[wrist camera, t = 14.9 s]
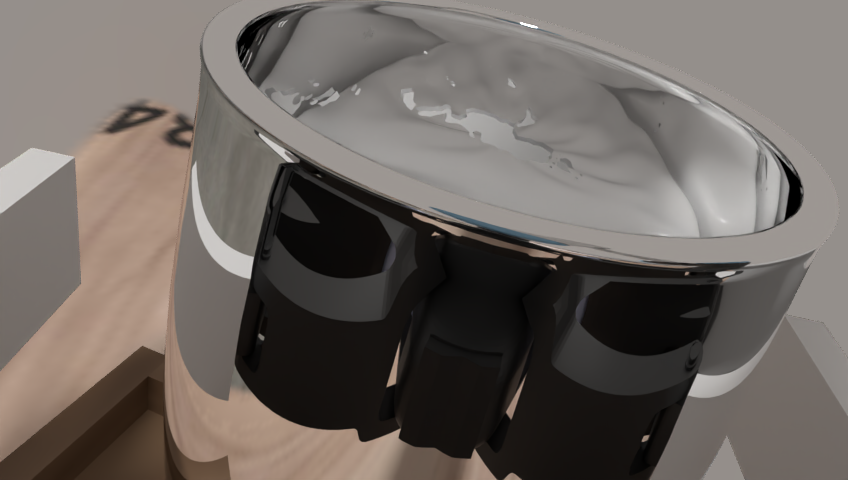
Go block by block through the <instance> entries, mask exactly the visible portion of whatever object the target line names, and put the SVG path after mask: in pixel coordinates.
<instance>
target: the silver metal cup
mask: <svg viewBox="0 0 848 480" xmlns="http://www.w3.org/2000/svg"><path fill="white" fill-rule="evenodd" d="M200 59H201V73H200V82H199V93H198V100H197V106H196V113H195V121H194V128H193V135H192V141H191V147H190V153H189V159H188V165H187V172H186V178H185V184H184V190H183V196H182V202H181V210H180V217H179V224H178V232H177V239H176V247H175V254H174V262H173V269H172V277H171V284H170V295H169V307H168V320H167V332H166V345H165V357H164V370H163V435H164V471H165V480H703V479H704V477H705V475H706V473H707V472H708V470H709V468H710V467H711V464H712V463H713V461H714V459H715V458H716V456H717V454H718V451H719V450H720V448H721V446H722V444H723V442H724V440H725V438H726V436H727V434H728V432H729V430H730V428H731V426H732V424H733V422H734V420H735V418H736V416H737V414H738V412H739V410H740V408H741V406H742V404H743V402H744V400H745V398H746V396H747V394H748V392H749V390H750V388H751V386H752V384H753V382H754V380H755V378H756V376H757V374H758V372H759V370H760V367H761V365H762V363H763V361H764V359H765V357H766V355H767V353H768V350H769V348H770V346H771V344H772V342H773V340H774V338H775V336H776V334H777V331H778V329H779V327H780V325H781V323H782V321H783V319H784V317H785V314H786V312H787V310H788V308H789V306H790V304H791V302H792V300H793V298H794V296H795V294H796V292H797V290H798V288H799V286H800V284H801V282H802V280H803V278H804V276H805V274H806V272H807V270H808V268H809V266H810V264H811V263H812V261H813V259H814V257H815V256H816V254H817V252H818V250H819V249H820V247H821V246H822V244H823V243H824V242H825V241H826V240H827V239H828V238H829V236H830V235H831V233H832V232H833V230H834V228H835V227H836V224H837V221H838V216H839V201H838V196H837V193H836V189H835V187H834V185H833V183H832V181H831V179H830V177H829V176H828V174H827V173H826V172H825V170H824V169H823V167H822V166H821V165H820V164H819V162H818V161H817V160H816V159H815V158H814V157H813V156H812V155H811V154H810V153H809V152H808V151H807V150H806V149H805V148H804V147H803V146H802V145H801V144H800V143H799V142H798V141H796V140H795V139H794V138H793V137H792V136H790V135H789V134H788V133H787V132H785V131H784V130H783V129H782V128H780V127H779V126H778V125H776V124H775V123H773V122H772V121H770V120H769V119H768V118H766V117H764V116H763V115H762V114H760V113H758V112H757V111H755V110H754V109H752V108H750V107H749V106H747V105H745V104H744V103H742V102H740V101H739V100H737V99H735V98H733V97H732V96H730V95H728V94H726V93H724V92H722V91H721V90H719V89H717V88H715V87H713V86H711V85H709V84H707V83H705V82H703V81H701V80H699V79H697V78H695V77H693V76H691V75H688V74H686V73H684V72H682V71H680V70H678V69H675V68H673V67H671V66H668V65H666V64H664V63H662V62H659V61H657V60H654V59H652V58H650V57H647V56H644V55H642V54H640V53H637V52H634V51H632V50H629V49H627V48H624V47H621V46H618V45H616V44H613V43H610V42H607V41H604V40H602V39H598V38H595V37H593V36H590V35H587V34H584V33H581V32H577V31H574V30H571V29H568V28H564V27H561V26H558V25H555V24H551V23H548V22H544V21H540V20H537V19H533V18H530V17H526V16H522V15H518V14H514V13H510V12H506V11H501V10H497V9H493V8H489V7H484V6H479V5H475V4H469V3H465V2H459V1H454V0H242V1H240V2H237V3H235V4H233V5H231V6H229V7H227V8H225V9H223V10H222V11H221V12H219V13H218V14H217V15H216V16H215V17H214V18H213V19H212V20H211V21H210V22H209V23H208V25H207V26H206V28H205V30H204V32H203V35H202V38H201V42H200Z"/></svg>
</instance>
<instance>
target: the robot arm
mask: <svg viewBox="0 0 848 480" xmlns="http://www.w3.org/2000/svg"><path fill="white" fill-rule="evenodd" d="M80 284H81V271H80V251H79V231H78V211H77V191H76V171H75V157H72V156H67V155H63V154H58V153H53V152H49V151H44V150H40V149H36V148H31V149H29V150H28V151H26V152H25V153H23V154H22V155H20V156H19V157H17V158H16V159H14V160H13V161H11V162H10V163H8V164H7V165H6V166H4V167H2V168H1V169H0V371H1V370H2V369H3V368H4V367H5V366H6V364H7V363H8V362H9V361H10V360H11V359H12V358H13V357H14V356H15V355H16V354H17V352H18V351H19V350H20V349H21V348H22V347H23V346H24V345H25V344H26V343H27V342H28V341H29V339H30V338H31V337H32V336H33V335H34V334H35V333H36V332H37V331H38V330H39V329H40V327H41V326H42V325H43V324H44V323H45V322H46V321H47V320H48V319H49V318H50V317H51V316H52V314H53V313H54V312H55V311H56V310H57V309H58V308H59V307H60V306H61V305H62V304H63V302H64V301H65V300H66V299H67V298H68V297H69V296H70V295H71V294H72V293H73V292H74V291H75V289H76V288H77V287H78V286H79V285H80ZM727 436H728V439H729V442H730V444H731V446H732V449H733V451H734V454H735V456H736V459H737V461H738V463H739V466H740V469H741V471H742V473H743V476H744V479H745V480H848V357H847V356H846V355H845V353H844V352H843V350H842V349H841V347H840V346H839V344H838V343H837V342H836V340H835V339H834V337H833V336H832V334H831V333H830V332H829V330H828V329H827V327H826V326H825V325H824V323H822V322H817V321H813V320H809V319H804V318H799V317H795V316H790V315H786V314H785V317H784V319H783V321H782V323H781V325H780V327H779V329H778V331H777V334H776V336H775V338H774V340H773V342H772V344H771V346H770V348H769V350H768V353H767V355H766V357H765V359H764V361H763V363H762V365H761V367H760V370H759V372H758V374H757V376H756V378H755V380H754V382H753V384H752V386H751V388H750V390H749V392H748V394H747V396H746V398H745V400H744V402H743V404H742V406H741V408H740V410H739V412H738V414H737V416H736V418H735V420H734V422H733V424H732V426H731V428H730V430H729V432H728V434H727Z"/></svg>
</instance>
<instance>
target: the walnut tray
mask: <svg viewBox="0 0 848 480" xmlns="http://www.w3.org/2000/svg"><path fill="white" fill-rule="evenodd" d="M164 357H165V355H162V354H160V353H158V352H155V351H153V350H151V349H148V348H146V347H144V346H142V347H140V348H139V349H138V350H137V351H135V352H134V353H133V354H132V355H131V356H129V357H128V358H127V359H126V360H125V361H123V362H122V363H121V364H120V365H118V366H117V367H116V368H115V369H114V370H112V371H111V372H110V373H109V374H107V375H106V376H105V377H104V378H103V379H101V380H100V381H99V382H98V383H97V384H95V385H94V386H93V387H92V388H90V389H89V390H88V391H87V392H86V393H84V394H83V395H82V396H81V397H79V398H78V399H77V400H76V401H75V402H73V403H72V404H71V405H70V406H69V407H67V408H66V409H65V410H64V411H62V412H61V413H60V414H59V415H58V416H56V417H55V418H54V419H53V420H51V421H50V422H49V423H48V424H47V425H45V426H44V427H43V428H42V429H41V430H39V431H38V432H37V433H36V434H34V435H33V436H32V437H31V438H30V439H28V440H27V441H26V442H25V443H23V444H22V445H21V446H20V447H19V448H17V449H16V450H15V451H14V452H13V453H11V454H10V455H9V456H8V457H6V458H5V459H4V460H3V461H2V462H0V480H165V471H164V435H163V370H164Z"/></svg>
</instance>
